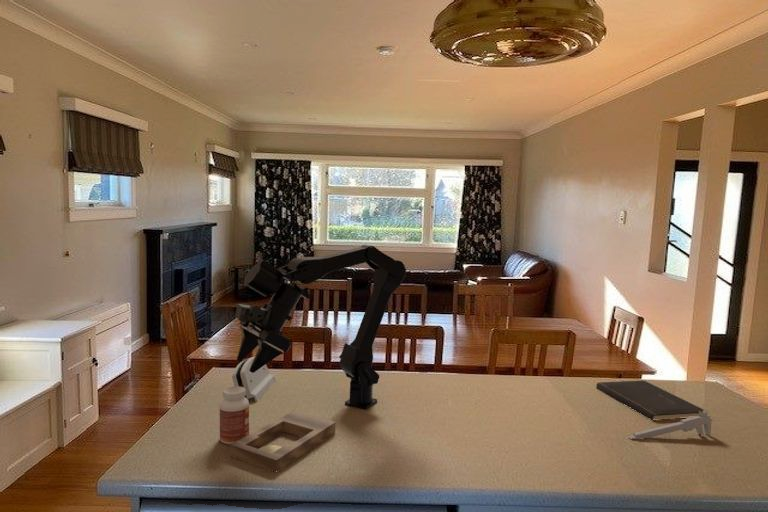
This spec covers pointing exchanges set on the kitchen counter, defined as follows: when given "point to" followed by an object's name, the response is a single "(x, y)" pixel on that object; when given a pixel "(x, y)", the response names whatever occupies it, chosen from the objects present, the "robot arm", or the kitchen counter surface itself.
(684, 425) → the caliper
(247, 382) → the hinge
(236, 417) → the pill bottle
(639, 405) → the hardcover book
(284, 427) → the wooden rectangular frame
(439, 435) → the kitchen counter surface
